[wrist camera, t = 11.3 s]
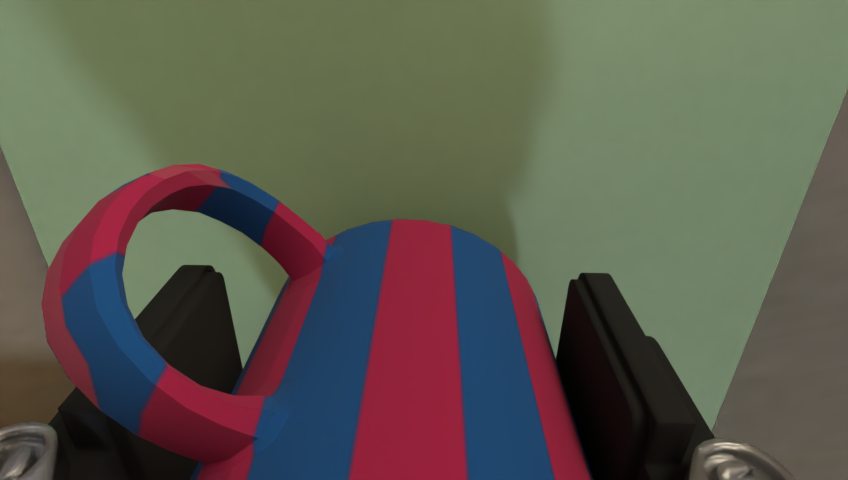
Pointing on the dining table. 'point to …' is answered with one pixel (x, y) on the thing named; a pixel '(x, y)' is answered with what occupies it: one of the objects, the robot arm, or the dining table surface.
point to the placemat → (447, 138)
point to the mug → (326, 349)
